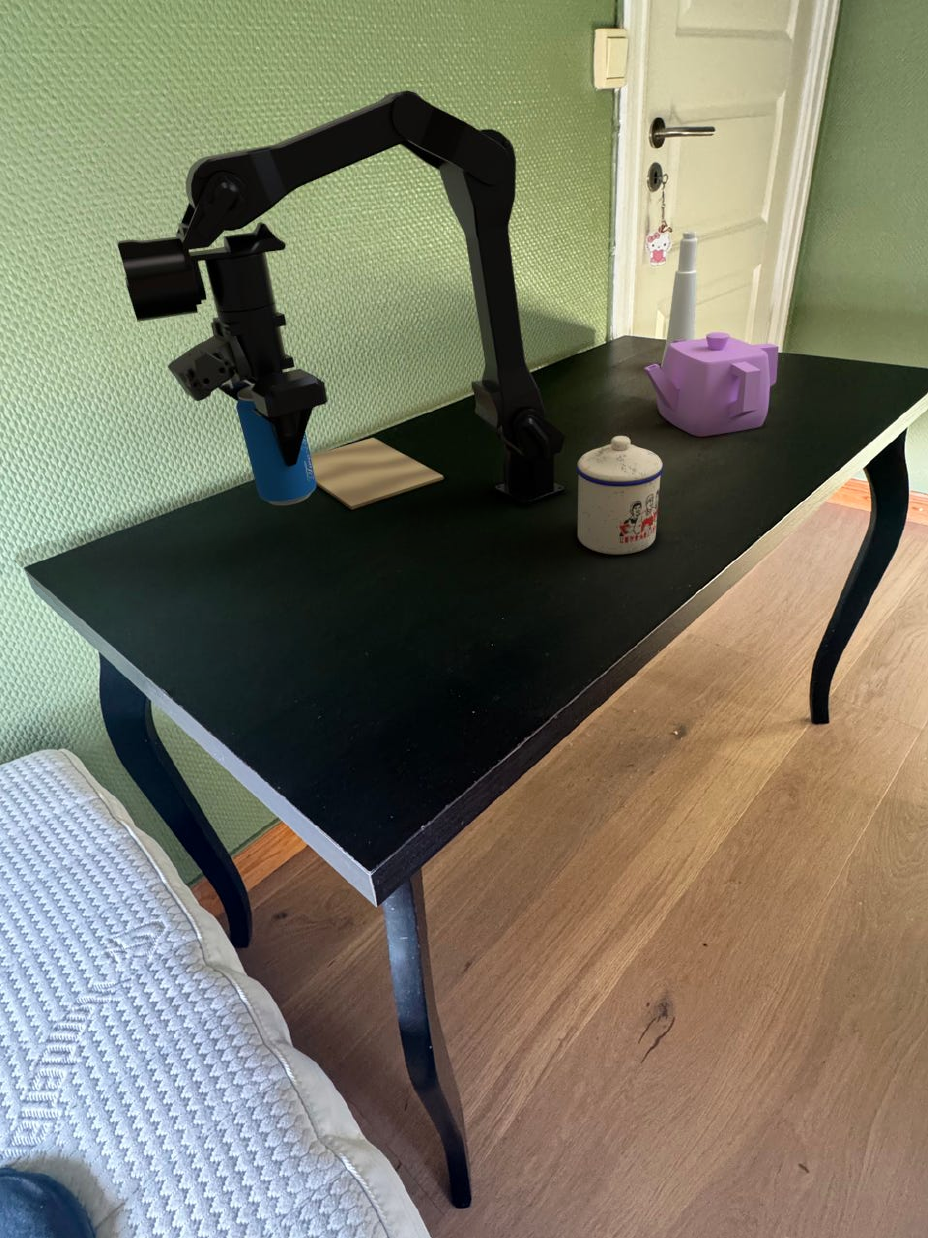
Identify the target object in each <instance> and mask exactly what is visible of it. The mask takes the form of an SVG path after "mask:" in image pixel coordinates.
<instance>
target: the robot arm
mask: <svg viewBox="0 0 928 1238" xmlns="http://www.w3.org/2000/svg"><path fill="white" fill-rule="evenodd" d="M399 145H400V146H402V147H403V148H404V149H406V150H407V151H408V152H410V153H412V155H413V156H415V157H417V159H419V160H421V161H422V162H423V163H425V164H427V165H428V166H430V167H432V168H434V169H435V170H437V171H439V175H440V178H441V181H442V184H443V187H444V190H445V193H446V197H447V200H448V202H449V203H448V204H449V205H450V207H451V209H452V212H453V213H454V216H455V217H456V219H457V221H458V224H459V225H460V227H461V229H462V231H463V235H464V238H465V243H466V251H467V257H468V263H469V264H468V265H469V270H470V276H471V282H472V289H473V295H474V300H475V302H474V303H475V307H476V313H477V320H478V326H479V332H480V338H481V339H480V340H481V345H482V350H483V357H484V369H483V374H482V377H481V380H475V381H474V380H473V381H471V389H472V392H473V395H474V399H475V408H474V414H476V415H477V416H479V417H480V418H481V420H482V421H483V423H484V425H485V426H487V427H488V428H489V429H491V430H492V431H493V432H494V433H495V435H496V438H497V440H499V441H502V446H503V447H502V448H503V450H502V451H503V452H502V465H503V466H502V467H503V469H502V471H503V481H504V483H501V484H498V485H495V489H494V491H496V492H497V493H499V494H501V495H503V496H505V497H507V498H508V499H510V500H512V501H514V502H516V503H518V504H520V505H522V506H529V505H532V504H534V503H537V502H541V501H542V500H545V499H547V498H551V497H553V496H556V495H558V494H561V493H563V492H564V491H565V490H564V486H561V485H560V484H558V483H555V455H556V454H560V453H561V452H562V449H563V445H564V443H565V440H566V435H565V434H564V433H562V432H561V431H560V430H559V429H558V428H557V427H556V426H554V425H553V424H552V423H551V422H550V421H548V420H547V414H546V409H545V405H544V402H543V399H542V396H541V391H540V389H539V387H538V385H537V383H536V381H535V379H534V377H533V375H532V373H531V371H530V369H529V367H528V365H527V362H526V357H525V349H524V341H523V334H522V333H523V332H522V326H521V318H520V310H519V302H518V296H517V295H518V294H517V287H516V279H515V271H514V264H513V256H512V247H511V241H510V232H509V226H510V221H511V217H512V212H513V208H514V204H515V200H516V195H517V194H516V192H517V191H516V187H517V186H516V185H517V179H516V178H517V157H516V151H515V147H514V145H513V144H512V141H511V140H510V139H508V138H507V137H506V136H505V135H504V134H503V133H502V132H501V131H498V130H496V129H493V128H488V129H487V128H484V129H483V128H481V129H480V128H479V129H478V128H476V127H474V126H473V125H472V124H469V123H468V122H466V121H464V120H463V119H460V118H458V117H457V116H455V115H452V114H450V113H449V112H446V111H444V110H442V109H440V108H439V107H437V106H434V104H431V103H430V102H428V101H427V100H425V99H424V98H423V97H422V96H420V95H419V94H417V92H415V91H411V90H408V89H407V90H400V91H396V92H390V93H387V94H385V95H384V96H383V97H382V98H381V99H380V100H377V101H376V102H374V103H370V104H369V105H366V106H363V107H362V108H359V109H357V110H354V111H352V112H350V113H346V114H345V115H341V116H340V117H337V118H335V119H332V120H330V121H328V122H326V123H323V124H320V125H318V126H316V127H314V128H311V129H308V130H306V131H303V132H301V133H299V134H296V135H294V136H292V137H288V138H287V139H284V140H282V141H279V142H277V143H274V144H270V145H264V146H258V147H252V148H246V149H240V150H235V151H229V152H223V153H218V154H213V155H208V156H204V157H202V158H200V159H198V160H197V161H195V162H194V163H193V164H192V165H191V167H190V168H189V170H188V172H187V175H186V180H185V194H186V198H187V200H188V204H187V206H186V209H185V211H184V214H183V215H182V218H181V221H180V222H178V224H177V225H178V228H177V230H176V233H175V236H168V237H159V238H152V239H144V240H140V239H123V240H118V242H116V244H117V248H118V252H119V255H120V259H121V262H122V266H123V271H124V273H125V277H124V280H125V285H126V289H127V293H128V295H129V299H130V302H131V306H132V309H133V312H134V315H135V318H136V321H137V323H138V322H146V321H152V320H153V321H154V320H160V319H166V318H172V317H178V316H186V315H193V314H198V313H199V311H198V309H199V308H198V306H199V305H203V301H207V299H208V297H207V291H206V288H205V283H204V280H203V276H202V272H201V268H200V264H199V262H204V265H205V269H206V273H207V276H208V281H209V285H210V290H211V294H212V298H213V303H214V306H215V312H216V315H217V316H216V317H212V318H211V319H212V322H210V328H211V331H212V336H210V337H209V338H207V339H206V340H203V341H201V342H199V343H198V344H196V345H195V346H193V347H191V349H189V350H187V351H186V352H184V353H183V354H181V355H179V356H178V357H176V358H174V359H173V360H172V361H171V362H170V363H169V364H168V365H167V368H168V370H169V371H170V372H171V374H172V375H173V377H174V378H175V380H176V381H177V383H178V384H179V386H180V388H182V390H183V391H184V393H185V394H186V395H187V396H189V397H191V398H192V399H193V400H194V401H195V402H201V401H204V400H205V399H207V398H209V397H210V396H211V395H212V392H214V391H215V390H217V389H218V390H219V391H220V392H222V393H223V394H225V395H227V396H228V397H230V398H231V399H233V400H235V401H236V403H237V402H238V400H239V398H238V396H237V394H238V392H239V391H240V390H242V389H244V388H246V387H249V386H253V388H252V390H251V392H252V396H253V401H254V403H255V405H256V407H257V408H254V409H252V411H253V412H255V413H256V414H258V415H259V416H261V417H263V418H264V419H266V420H267V421H268V422H269V424H270V426H271V429H272V432H273V434H274V437H275V440H276V442H277V445H278V448H279V450H280V453H281V455H282V458H283V460H284V462H285V465H286V466H288V467H289V466H293V465H295V464H296V463H297V460H298V456H299V453H300V449H301V445H302V441H303V438H304V434H305V432H306V431H307V427H308V424H309V421H310V419H311V415H312V413H313V410H314V408H316V407H319V406H324V405H325V404H326V403H328V396H327V390H326V384H325V382H324V381H323V380H321V379H320V378H318V377H317V376H316V375H314V374H313V373H310V372H308V371H306V370H304V369H302V368H296V366H295V362H294V361H295V360H294V357H293V356H291V355H289V354H287V353H286V350H285V349H286V348H285V344H284V340H283V334H282V330H281V327H284V326H287V321H286V319H287V318H286V316H285V313H282V312H279V311H278V310H277V303H276V299H275V293H274V289H273V284H272V278H271V274H270V273H271V272H270V269H269V264H268V258H267V253H273V252H278V251H284V250H285V249H286V248H287V244H286V242H285V241H283V240H282V239H280V238H279V237H277V236H276V235H275V234H274V233H273V232H272V231H271V230H270V228H269V227H268V225H267V224H265V223H264V222H262V221H258V222H257V224H256V227H255V229H254V230H253V231H252V232H246V233H239V234H229V235H224V236H223V246H220V247H215V248H210V247H211V246H212V245H213V243H214V242H215V241H216V240H218V238H220V236H221V235H222V234H223V233H224V232H234V231H237V230H242V229H243V228H246V227H247V226H248V225H249V224H252V222H254V221H256V220H257V219H258V218H260V217H261V216H262V215H264V214H266V213H267V212H269V211H270V210H272V208H274V207H275V206H276V205H277V204H278V203H280V202H281V201H282V200H283V199H284V198H286V197H287V196H288V195H290V194H291V193H292V192H294V191H295V190H297V189H298V188H301V187H302V186H305V185H307V184H310V183H312V182H314V181H317V180H319V179H321V178H324V177H326V176H328V175H331V174H333V173H335V172H338V171H340V170H342V169H345V168H347V167H350V166H352V165H355V164H356V163H359V162H361V161H365V160H366V159H368V158H371V157H374V156H375V155H378V154H381V153H382V152H385V151H387V150H389V149H393V148H394V147H397V146H399ZM204 248H205V249H204ZM206 248H209V249H206ZM199 249H200V250H199ZM201 249H202V250H201ZM190 250H195V251H190ZM293 368H296V369H293ZM289 369H291V370H289ZM284 370H288V371H284Z"/></svg>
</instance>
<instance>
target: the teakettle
mask: <svg viewBox="0 0 928 1238" xmlns="http://www.w3.org/2000/svg"><path fill="white" fill-rule="evenodd" d="M778 363H779V346H778V345H775V344H773V343H771V342H770V343H760V344H751V343H748V342H746V341H743V340H740V339H738V338H735V337H732V336H731V335H730V334H729V333H728V332H723V331H713V332H709V333H707V334H705V338H696V339H694V340H689V341H687V340H684V339H680V340H673V343H671V344H669V345H668V348H667V351H666V354H665V358H664V361H663V365H662V368H661V365H659V364H657V363H653V364H650V365H647V366H646V367H643V370H644V372H645V373H646V375H647V377H648V379H649V381H650V383H651V385H652V387H653V388H654V391H655V392H656V404H657V410H658V413H659V414H660V415H661V416H662V417H663V418H664V419H665V420H666V421H668V422H669V423H670V424H671V425H673V426H675V427H676V428H678V429H680V430H682V431H683V432H686V433H688V434H690V435H692V436H695V437H699V438H700V437H703V438H704V437H711V436H717V435H723V434H731V433H735V432H736V433H738V432H742V431H747V430H753V429H757V428H760V427H762V426H763V425H764V422H765V420H766V417H767V415H768V413H769V404H770V392H771V391H770V389H771V387H772V386H774V385H775V384H776V383H777V377H778V366H779V365H778Z"/></svg>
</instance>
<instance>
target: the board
mask: <svg viewBox="0 0 928 1238" xmlns="http://www.w3.org/2000/svg"><path fill="white" fill-rule="evenodd" d="M310 456H311V461H312V465H313V470H314V475H315V480H316V484H317V485H316V486H317V487H319V488H321V489H322V490H323V491H324V492H326V493H328V494H329V495H330V496H332V497H333V498H335V499H336V500H338V501H339V502H340V503H342V504H343V505H345V506H346V507H347V508H348V509H350V510H355V509H359V508H361V507H364V506H367V505H370V504H373V503H376V502H377V503H378V502H379V501H383V500H387V499H388V498H392V497H395V496H397V495H401V494H403V493H406V492H409V491H412V490H415V489H418V488H421V487H425V486H428V485H431V484H434V483H437V482H440V481H442V480H444V479H445V478H444V475H442V474H440V473H439V472H437V471H435V470H434V469H432V468H430V467H427V466H426V465H424V464H422V463H420V462H419V461H417V460H415V459H414V458H411V457H410V456H408V455H406V454H404V453H402V452H400V451H398V450H396V449H395V448H393V447H391V446H389V445H387V444H386V443H384V442H382V441H380V440H378V439H377V438H375V437H371V438H368V439H364V440H361V441H357V442H353V443H350V444H346V445H343V446H340V447H336V448H333V449H329V450H326V451H325V450H324V451H323V452H319V453H316V454H315V453H314V454H312V455H310Z"/></svg>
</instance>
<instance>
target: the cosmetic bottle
mask: <svg viewBox="0 0 928 1238" xmlns="http://www.w3.org/2000/svg"><path fill="white" fill-rule="evenodd" d="M697 233H698V232H696V231H684V232H682V238H681V239H680V241H679V242H680V243H679V254H678V265H677V266H678V267H677V270H675V273H674V279H673V287H672V295H671V302H670V303H671V304H670V310H669V311H670V313H669V320H668V327H667V335H666V340H665V346H664V351H663V356H662V360H661V364H660V368H661V369H662V365H663V361H664V358H665V354H666V351H667V348H668V345H669V344H671V343H673V340H680V339H684V340H687V341H689V340H695V334H696V333H695V332H696V331H695V328H696V307H697V289H698V288H697V287H698V270H697V269H696V265H697V264H696V262H697V255H698V254H697V252H698V241H699V240H698V238H697V235H698V234H697Z"/></svg>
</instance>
